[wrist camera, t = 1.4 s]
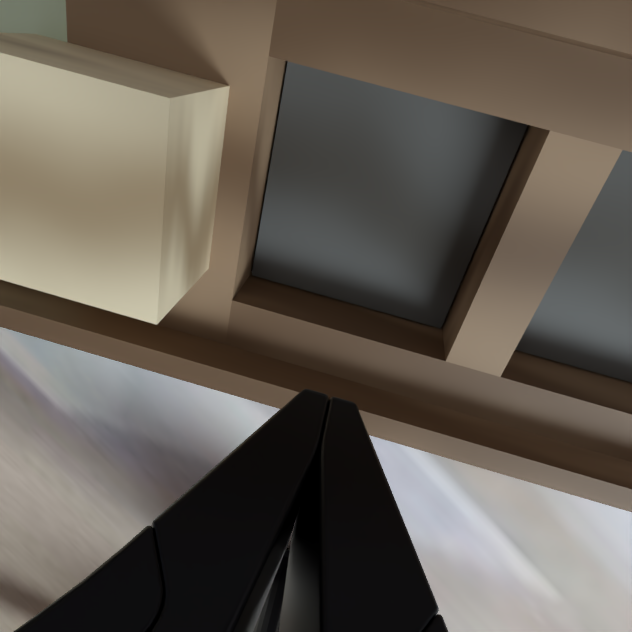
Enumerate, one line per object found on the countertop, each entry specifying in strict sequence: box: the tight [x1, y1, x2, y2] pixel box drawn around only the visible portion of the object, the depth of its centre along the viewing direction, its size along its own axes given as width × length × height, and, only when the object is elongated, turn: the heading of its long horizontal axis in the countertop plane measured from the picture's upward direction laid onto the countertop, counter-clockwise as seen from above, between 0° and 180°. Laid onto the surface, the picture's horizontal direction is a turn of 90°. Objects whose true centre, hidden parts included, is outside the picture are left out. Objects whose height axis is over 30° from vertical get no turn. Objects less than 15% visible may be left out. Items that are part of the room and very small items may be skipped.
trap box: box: [0, 0, 632, 512], centre depth 15 cm, size 14×34×6 cm, turn 77°
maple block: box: [0, 32, 230, 325], centre depth 14 cm, size 6×6×4 cm
